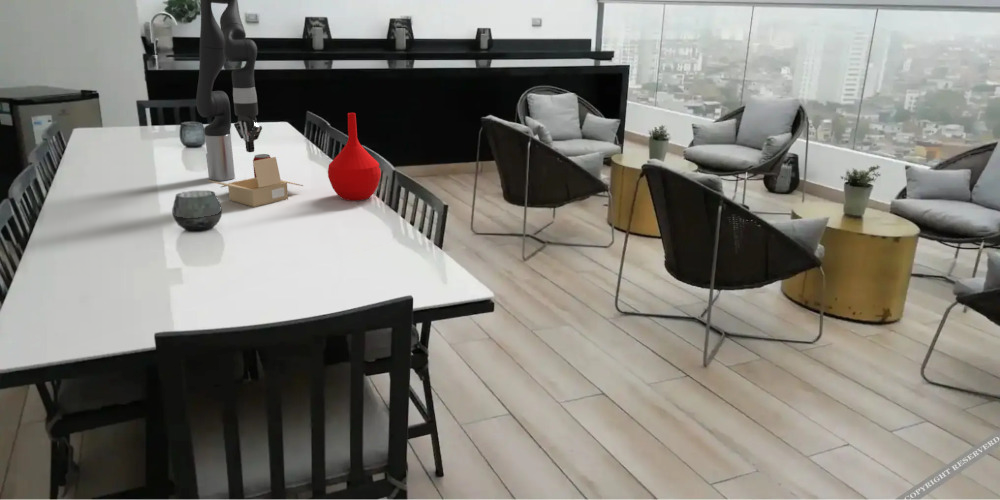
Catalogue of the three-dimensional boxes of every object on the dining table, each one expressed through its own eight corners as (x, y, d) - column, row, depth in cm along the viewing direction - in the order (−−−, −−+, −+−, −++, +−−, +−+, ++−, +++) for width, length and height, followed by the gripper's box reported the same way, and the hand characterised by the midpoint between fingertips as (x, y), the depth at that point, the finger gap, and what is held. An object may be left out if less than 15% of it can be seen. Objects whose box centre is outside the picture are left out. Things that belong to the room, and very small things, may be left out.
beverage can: (268, 190, 270) (266, 157, 266) (252, 188, 271) (248, 156, 268) (277, 185, 276) (275, 154, 273) (261, 184, 278) (258, 153, 274)
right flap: (231, 184, 252) (230, 185, 252) (207, 179, 245) (207, 180, 245) (247, 188, 247) (246, 189, 247) (223, 184, 240) (223, 185, 240)
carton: (214, 196, 261) (213, 179, 259) (268, 184, 278) (267, 168, 277) (254, 207, 248) (252, 190, 246) (308, 194, 266) (307, 178, 264)
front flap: (252, 161, 246) (253, 161, 246) (275, 156, 253) (275, 156, 253) (258, 187, 248) (259, 187, 248) (280, 182, 255) (281, 182, 255)
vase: (390, 193, 268) (387, 111, 258) (365, 206, 252) (362, 119, 242) (346, 189, 274) (342, 108, 264) (319, 201, 257) (313, 115, 248)
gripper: (266, 101, 247) (271, 152, 253) (243, 98, 254) (248, 147, 260) (247, 103, 241) (252, 156, 247) (224, 100, 249) (229, 151, 254)
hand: (250, 151), depth 253 cm, fingers closed
